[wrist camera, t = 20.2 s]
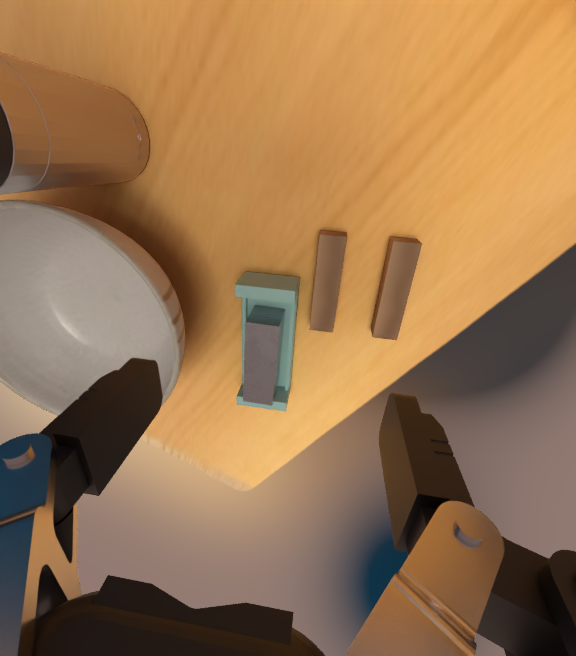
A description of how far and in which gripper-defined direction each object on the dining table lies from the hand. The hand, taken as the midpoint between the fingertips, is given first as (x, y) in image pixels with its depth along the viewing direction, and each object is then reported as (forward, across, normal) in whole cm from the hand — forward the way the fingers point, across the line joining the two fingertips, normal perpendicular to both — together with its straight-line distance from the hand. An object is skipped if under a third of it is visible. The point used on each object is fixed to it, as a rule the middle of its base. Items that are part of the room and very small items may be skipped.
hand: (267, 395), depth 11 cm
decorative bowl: (+30, +26, +11) cm, 41 cm away
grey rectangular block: (+29, +5, +16) cm, 33 cm away
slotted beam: (+30, -6, +6) cm, 31 cm away
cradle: (+30, +5, +15) cm, 34 cm away
